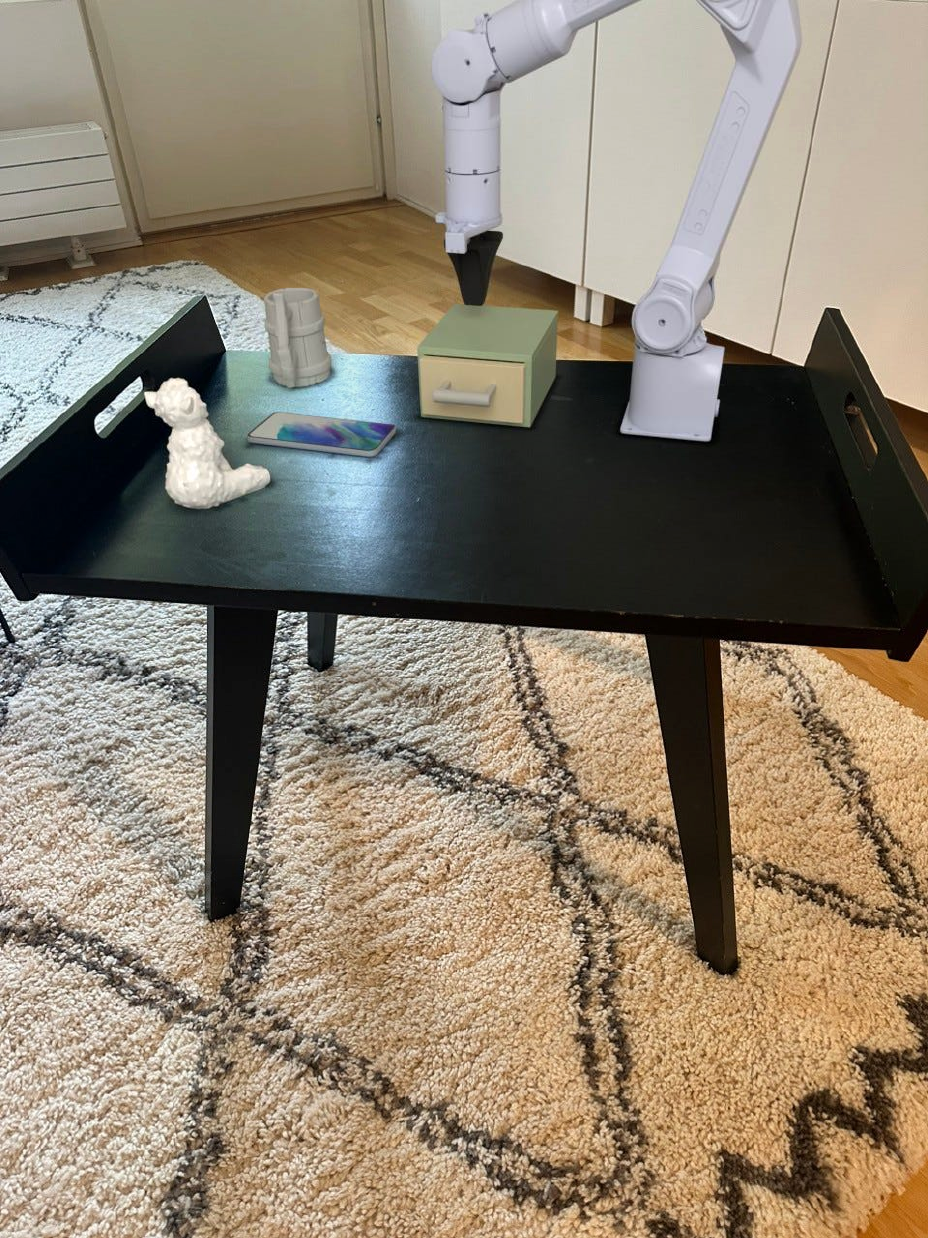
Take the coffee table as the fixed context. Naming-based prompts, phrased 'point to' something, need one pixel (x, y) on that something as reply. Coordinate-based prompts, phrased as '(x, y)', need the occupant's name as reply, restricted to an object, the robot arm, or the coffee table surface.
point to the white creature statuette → (198, 452)
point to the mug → (296, 337)
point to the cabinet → (499, 346)
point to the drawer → (473, 388)
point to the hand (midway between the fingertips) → (474, 303)
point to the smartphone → (323, 434)
